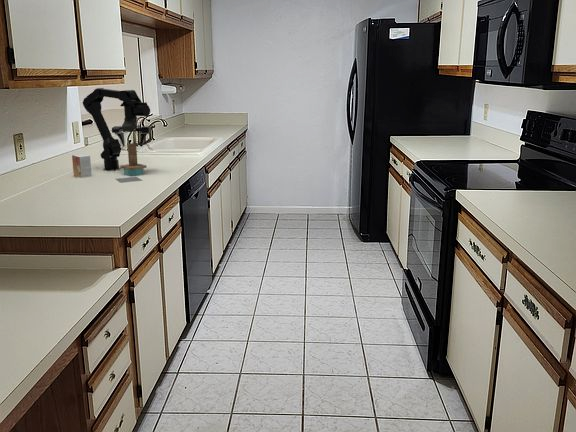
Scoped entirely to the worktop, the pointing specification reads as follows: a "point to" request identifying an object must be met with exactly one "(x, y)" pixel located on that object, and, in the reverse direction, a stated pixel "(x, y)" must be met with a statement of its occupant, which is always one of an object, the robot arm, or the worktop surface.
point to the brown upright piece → (132, 159)
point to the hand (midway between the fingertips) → (132, 146)
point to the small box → (81, 165)
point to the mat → (128, 179)
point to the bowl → (133, 172)
